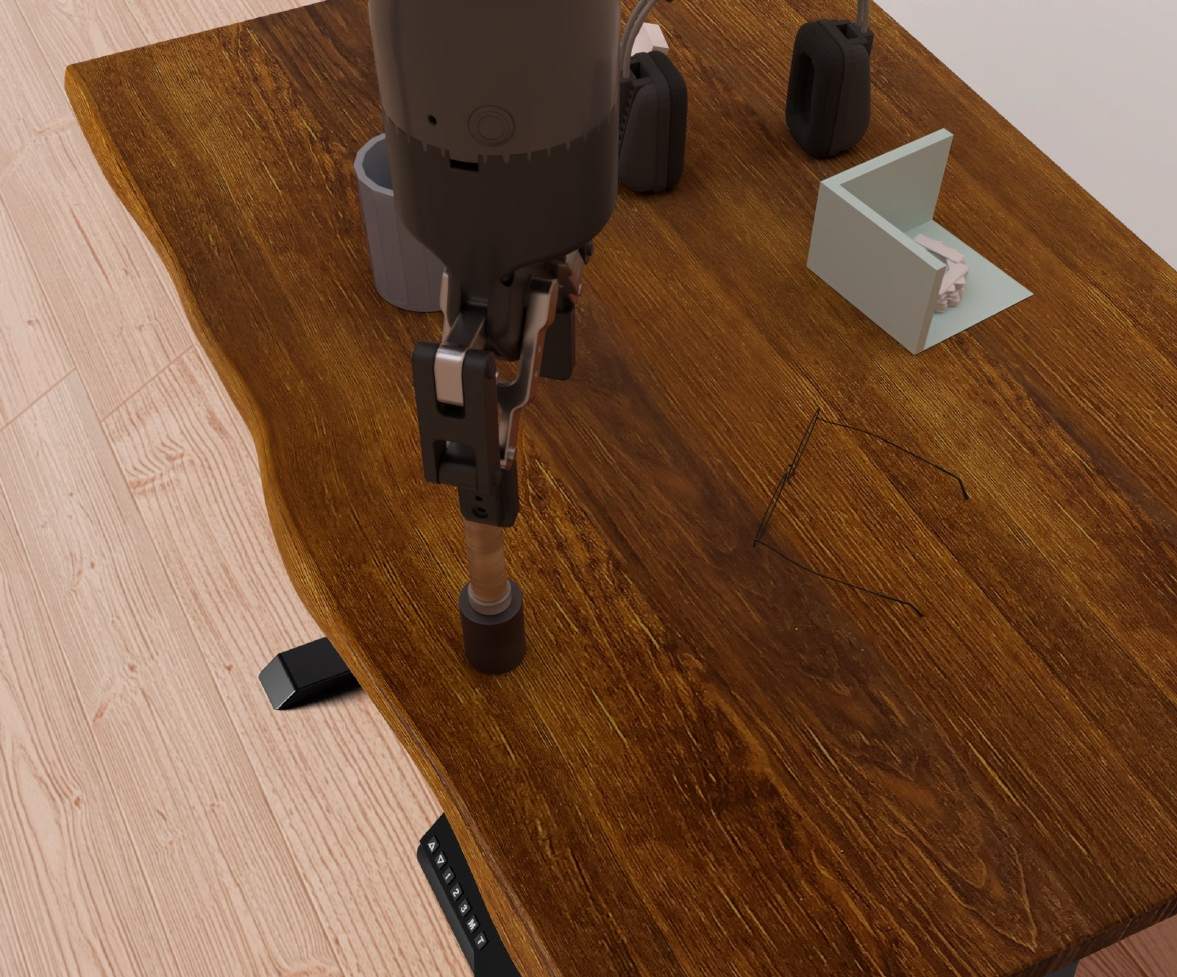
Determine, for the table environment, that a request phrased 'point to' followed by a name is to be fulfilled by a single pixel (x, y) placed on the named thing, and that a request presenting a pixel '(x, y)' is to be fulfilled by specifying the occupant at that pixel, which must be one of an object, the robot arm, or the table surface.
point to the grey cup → (393, 237)
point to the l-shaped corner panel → (904, 248)
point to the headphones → (813, 106)
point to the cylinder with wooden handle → (490, 604)
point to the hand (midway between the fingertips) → (521, 442)
